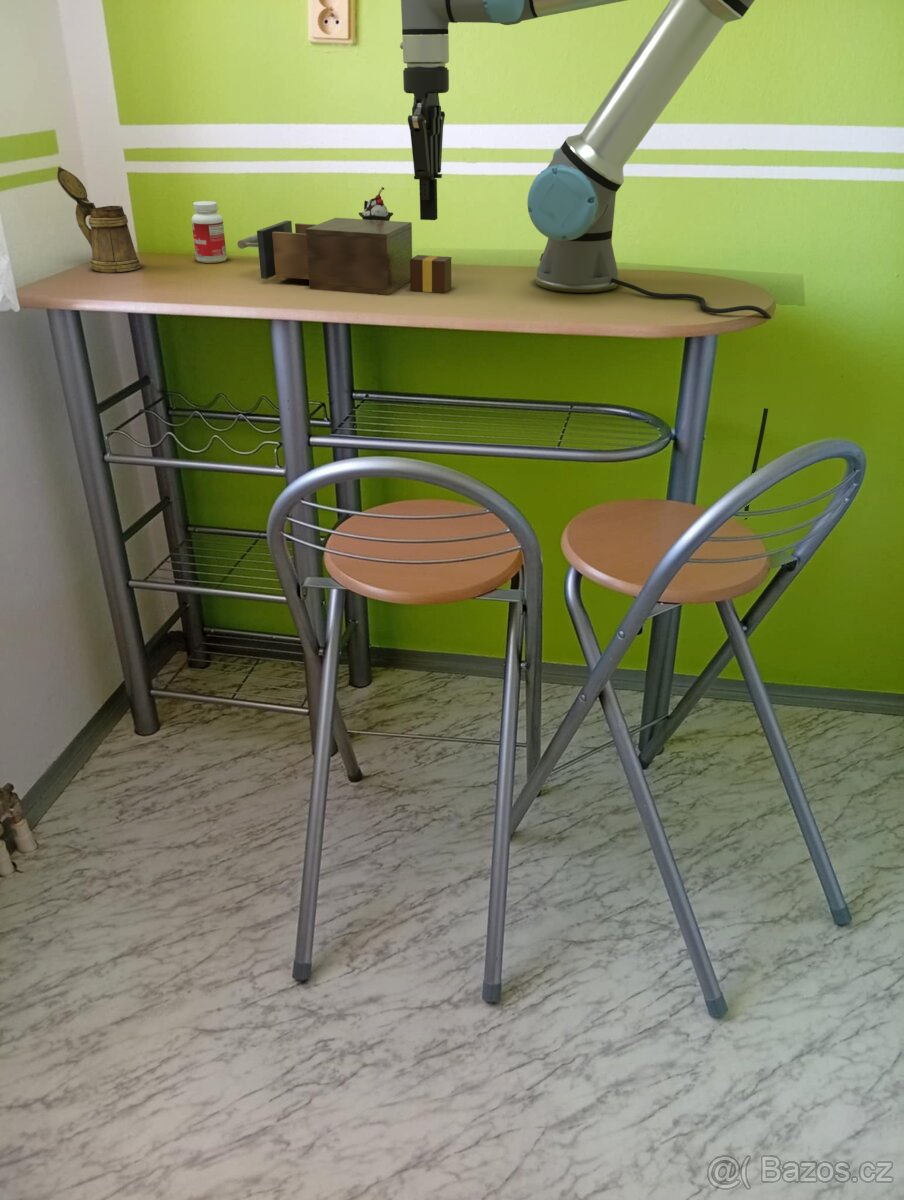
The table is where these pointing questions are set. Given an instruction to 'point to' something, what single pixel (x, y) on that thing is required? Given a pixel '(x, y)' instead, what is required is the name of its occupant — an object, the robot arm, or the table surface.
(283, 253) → the drawer
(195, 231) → the pill bottle
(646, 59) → the robot arm
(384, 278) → the cabinet
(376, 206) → the sundae
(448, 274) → the chocolate
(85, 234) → the wooden mug
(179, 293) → the table surface
